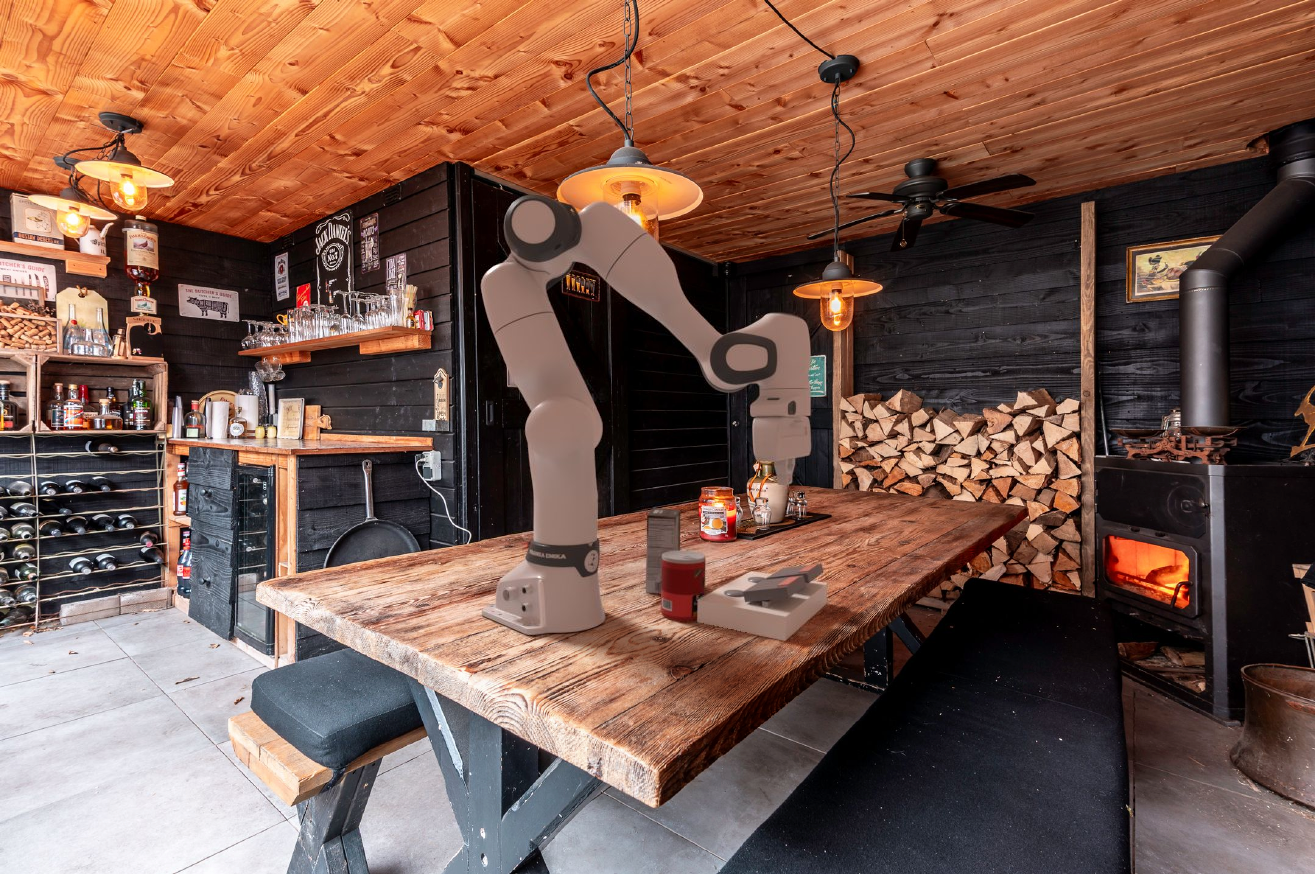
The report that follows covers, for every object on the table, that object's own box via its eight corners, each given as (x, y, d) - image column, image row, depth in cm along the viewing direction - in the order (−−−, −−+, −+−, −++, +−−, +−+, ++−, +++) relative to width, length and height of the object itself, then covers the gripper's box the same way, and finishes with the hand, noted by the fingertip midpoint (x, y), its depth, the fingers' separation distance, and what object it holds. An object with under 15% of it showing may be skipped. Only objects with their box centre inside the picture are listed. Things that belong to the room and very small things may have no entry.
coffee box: (651, 581, 132) (652, 507, 132) (680, 582, 132) (681, 508, 131) (644, 593, 123) (645, 514, 123) (675, 594, 123) (677, 515, 122)
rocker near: (745, 602, 104) (742, 590, 104) (764, 589, 112) (762, 579, 112) (788, 597, 100) (786, 586, 100) (805, 585, 108) (803, 574, 108)
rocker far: (768, 587, 114) (766, 576, 114) (784, 576, 121) (782, 567, 122) (809, 582, 110) (806, 572, 110) (823, 572, 117) (821, 562, 117)
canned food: (701, 623, 106) (702, 561, 105) (656, 619, 107) (657, 558, 107) (706, 610, 113) (708, 551, 113) (664, 606, 115) (665, 549, 114)
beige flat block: (697, 622, 106) (697, 593, 106) (750, 590, 127) (751, 566, 127) (785, 641, 98) (785, 610, 98) (826, 603, 119) (827, 578, 118)
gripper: (787, 407, 118) (787, 478, 118) (745, 405, 100) (745, 489, 101) (819, 406, 114) (819, 479, 115) (782, 405, 97) (782, 491, 97)
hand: (784, 484), depth 108 cm, fingers closed
